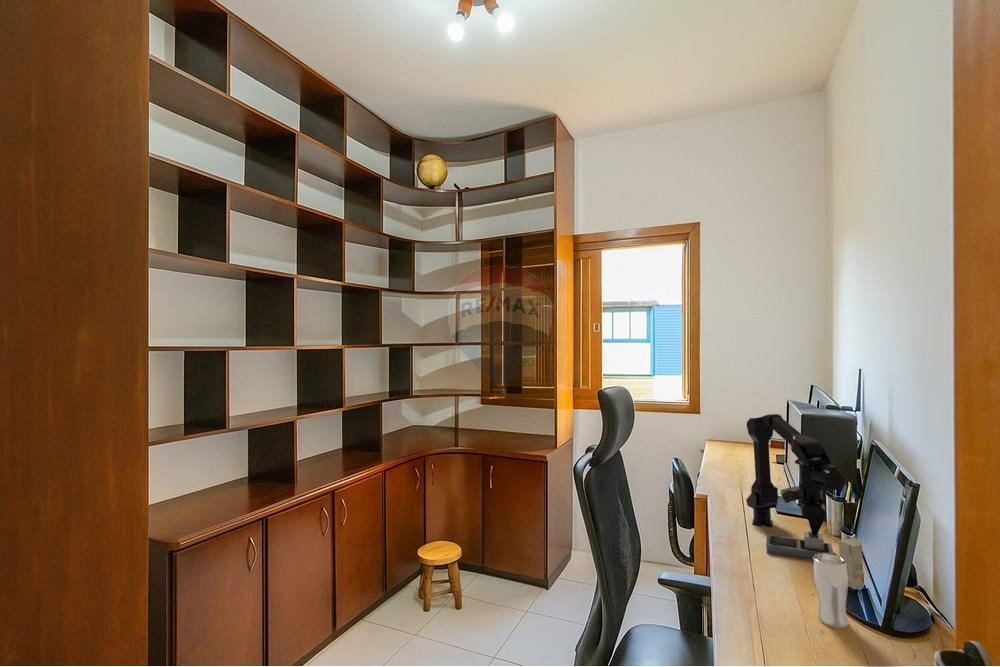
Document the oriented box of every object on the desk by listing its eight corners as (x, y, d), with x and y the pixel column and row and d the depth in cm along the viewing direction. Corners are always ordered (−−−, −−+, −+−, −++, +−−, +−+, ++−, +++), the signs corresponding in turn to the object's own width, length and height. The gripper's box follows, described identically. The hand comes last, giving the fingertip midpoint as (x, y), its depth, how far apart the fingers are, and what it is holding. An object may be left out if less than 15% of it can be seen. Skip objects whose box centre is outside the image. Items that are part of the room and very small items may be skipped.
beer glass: (836, 612, 120) (832, 552, 121) (858, 628, 113) (854, 564, 114) (809, 614, 120) (805, 553, 120) (829, 630, 113) (825, 566, 113)
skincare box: (855, 592, 129) (852, 546, 129) (840, 584, 133) (837, 540, 134) (873, 587, 131) (870, 542, 131) (857, 580, 135) (854, 536, 135)
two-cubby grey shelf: (767, 541, 163) (767, 534, 163) (831, 551, 154) (831, 543, 154) (766, 552, 155) (766, 545, 155) (834, 563, 145) (833, 555, 145)
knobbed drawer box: (805, 550, 155) (803, 529, 156) (823, 552, 153) (822, 531, 153) (805, 556, 151) (804, 534, 151) (824, 559, 149) (823, 537, 149)
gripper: (781, 471, 164) (784, 517, 164) (781, 486, 148) (784, 536, 148) (820, 474, 159) (823, 521, 158) (824, 490, 143) (827, 542, 142)
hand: (813, 530), depth 152 cm, fingers open, 9 cm apart
